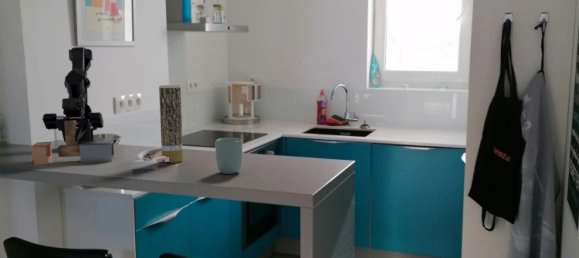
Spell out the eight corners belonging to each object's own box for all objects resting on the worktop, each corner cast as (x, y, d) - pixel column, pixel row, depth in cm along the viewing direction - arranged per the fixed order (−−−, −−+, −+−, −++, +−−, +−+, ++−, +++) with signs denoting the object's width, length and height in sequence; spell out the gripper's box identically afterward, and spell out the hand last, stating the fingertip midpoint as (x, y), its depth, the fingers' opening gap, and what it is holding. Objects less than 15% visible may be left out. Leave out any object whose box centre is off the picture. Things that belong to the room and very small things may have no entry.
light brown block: (52, 160, 196) (50, 141, 195) (46, 164, 189) (45, 145, 188) (38, 160, 195) (37, 142, 195) (32, 164, 189) (31, 145, 188)
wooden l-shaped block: (110, 153, 196) (108, 119, 195) (108, 155, 193) (106, 120, 191) (61, 155, 194) (59, 120, 193) (58, 157, 191) (56, 122, 189)
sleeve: (114, 158, 198) (113, 140, 197) (111, 161, 193) (110, 142, 192) (83, 159, 196) (82, 141, 196) (80, 162, 191) (79, 143, 190)
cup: (229, 168, 179) (228, 136, 178) (248, 172, 174) (247, 139, 173) (211, 173, 173) (210, 140, 172) (229, 176, 168) (228, 142, 167)
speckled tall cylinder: (185, 159, 194) (183, 84, 191) (179, 163, 188) (177, 86, 184) (165, 159, 195) (162, 85, 192) (159, 163, 188) (156, 86, 185)
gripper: (41, 89, 193) (34, 127, 184) (100, 88, 195) (95, 125, 186) (50, 110, 202) (43, 147, 192) (105, 109, 204) (101, 145, 195)
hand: (70, 141), depth 191 cm, fingers open, 3 cm apart
